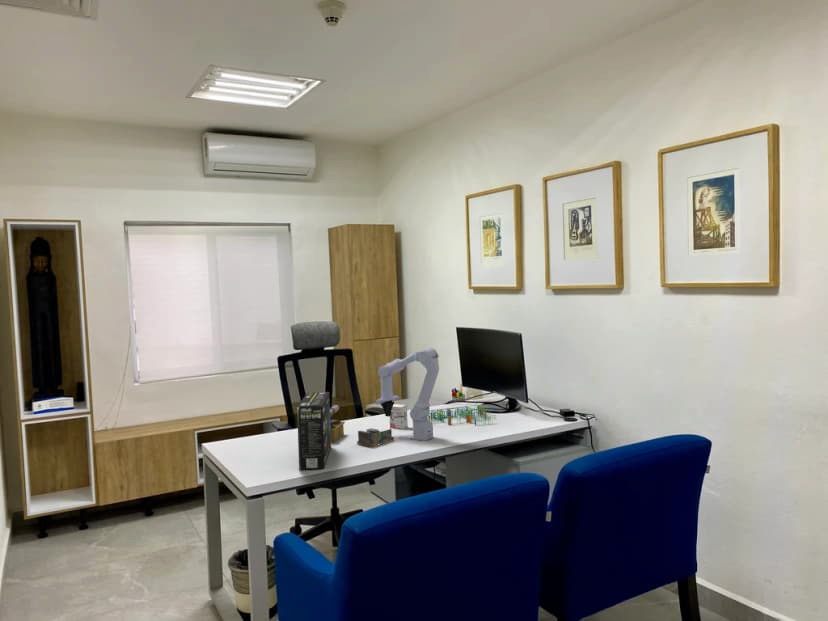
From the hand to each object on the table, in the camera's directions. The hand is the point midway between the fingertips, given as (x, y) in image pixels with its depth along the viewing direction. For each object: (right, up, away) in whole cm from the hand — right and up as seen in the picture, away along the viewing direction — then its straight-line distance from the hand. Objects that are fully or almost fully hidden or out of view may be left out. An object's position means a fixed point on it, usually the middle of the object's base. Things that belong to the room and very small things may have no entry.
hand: (387, 416), depth 308 cm
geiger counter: (-28, -11, -6) cm, 31 cm away
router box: (-30, -12, -37) cm, 49 cm away
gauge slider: (-6, -8, -16) cm, 18 cm away
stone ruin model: (-5, -10, -13) cm, 18 cm away
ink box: (+5, -9, +15) cm, 18 cm away
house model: (+38, -8, +26) cm, 47 cm away
